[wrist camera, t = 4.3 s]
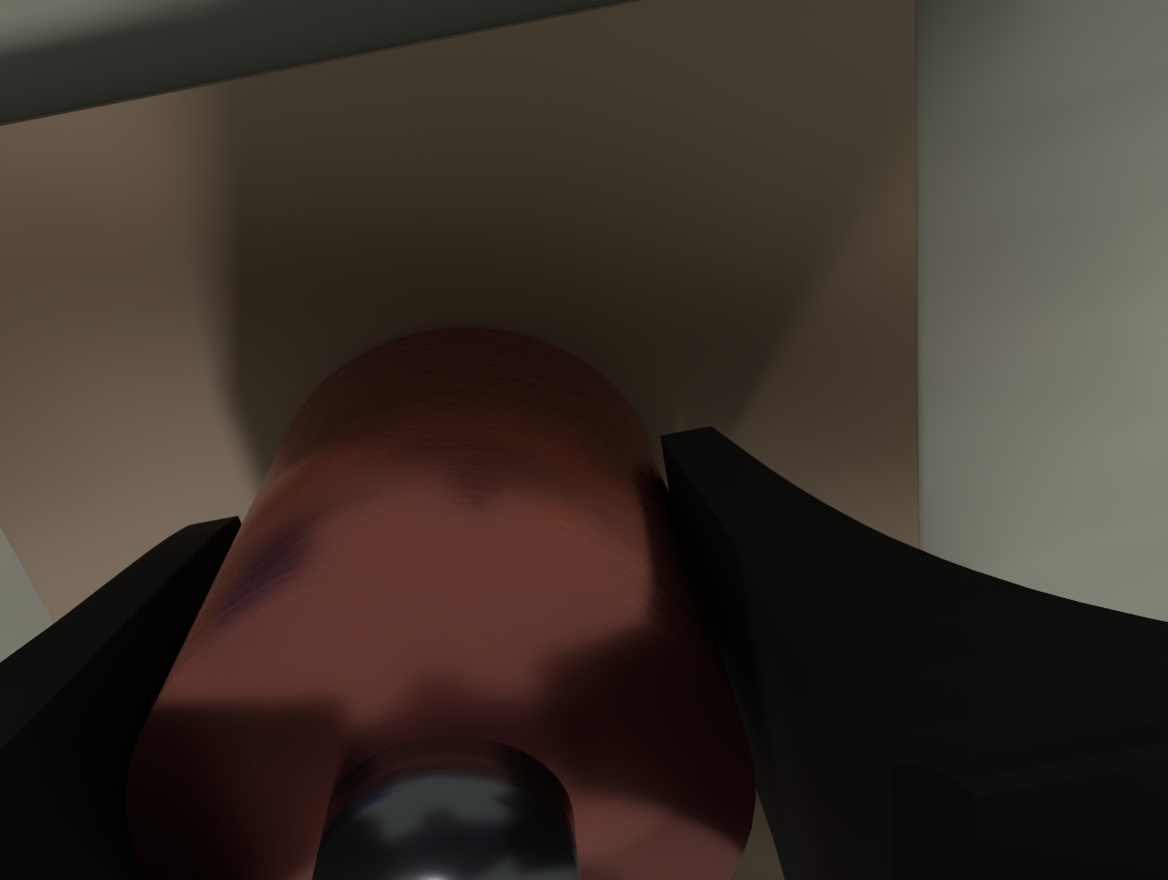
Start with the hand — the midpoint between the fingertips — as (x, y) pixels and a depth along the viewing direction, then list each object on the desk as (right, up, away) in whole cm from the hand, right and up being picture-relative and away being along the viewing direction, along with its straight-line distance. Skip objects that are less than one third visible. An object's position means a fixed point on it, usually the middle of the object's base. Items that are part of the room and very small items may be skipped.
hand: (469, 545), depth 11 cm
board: (+1, -4, +4) cm, 5 cm away
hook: (+1, -4, +3) cm, 5 cm away
